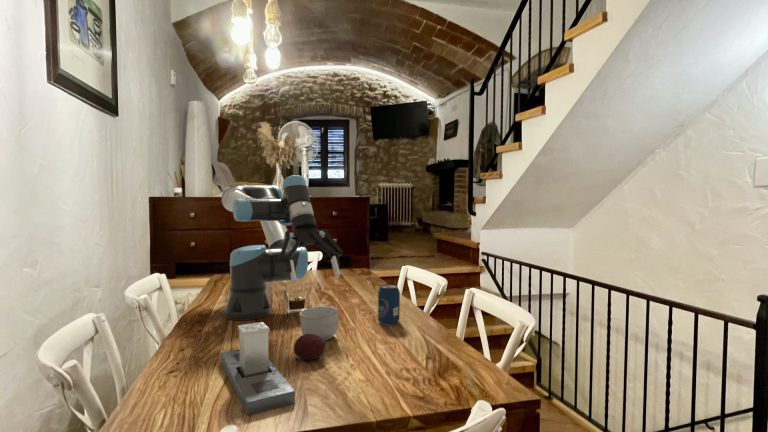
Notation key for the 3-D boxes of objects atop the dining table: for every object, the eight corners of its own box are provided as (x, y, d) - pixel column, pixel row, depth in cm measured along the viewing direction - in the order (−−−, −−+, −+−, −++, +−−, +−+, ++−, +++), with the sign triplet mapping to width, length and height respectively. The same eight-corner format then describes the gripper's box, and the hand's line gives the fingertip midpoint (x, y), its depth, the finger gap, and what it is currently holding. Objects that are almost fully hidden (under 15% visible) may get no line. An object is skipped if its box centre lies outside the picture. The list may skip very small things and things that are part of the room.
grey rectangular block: (238, 379, 90) (238, 325, 90) (263, 373, 93) (262, 321, 93) (243, 388, 86) (243, 332, 85) (269, 382, 89) (269, 328, 88)
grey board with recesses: (220, 362, 99) (220, 352, 99) (258, 355, 104) (258, 345, 104) (247, 415, 75) (247, 401, 75) (294, 403, 80) (294, 390, 80)
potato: (302, 367, 97) (302, 342, 97) (288, 356, 104) (288, 333, 103) (329, 360, 101) (329, 336, 101) (314, 350, 108) (314, 327, 108)
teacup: (330, 346, 111) (330, 316, 111) (293, 342, 113) (293, 314, 113) (345, 330, 125) (345, 304, 124) (312, 327, 127) (312, 302, 127)
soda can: (373, 322, 133) (373, 285, 132) (389, 318, 137) (389, 282, 137) (387, 327, 127) (388, 289, 127) (403, 323, 132) (404, 286, 132)
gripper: (265, 213, 122) (277, 279, 113) (342, 211, 134) (359, 269, 125) (261, 226, 128) (272, 289, 118) (335, 222, 140) (350, 279, 131)
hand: (316, 279), depth 122 cm, fingers open, 13 cm apart
